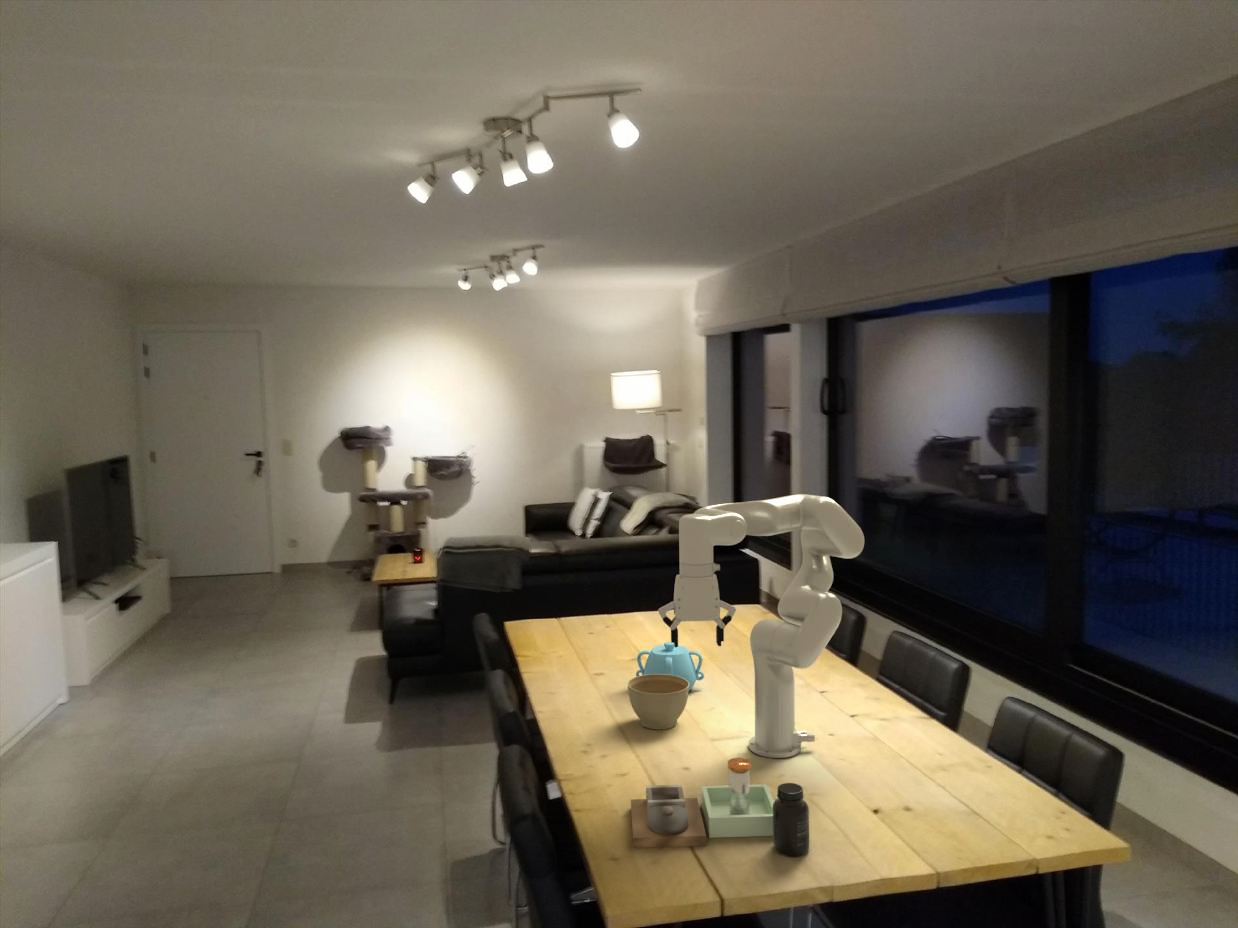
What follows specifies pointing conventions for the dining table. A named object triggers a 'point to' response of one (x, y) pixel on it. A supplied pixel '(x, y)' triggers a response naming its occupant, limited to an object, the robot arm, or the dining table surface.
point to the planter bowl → (658, 699)
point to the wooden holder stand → (666, 819)
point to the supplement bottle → (790, 821)
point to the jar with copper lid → (739, 786)
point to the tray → (737, 825)
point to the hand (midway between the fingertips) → (697, 645)
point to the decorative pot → (671, 662)
